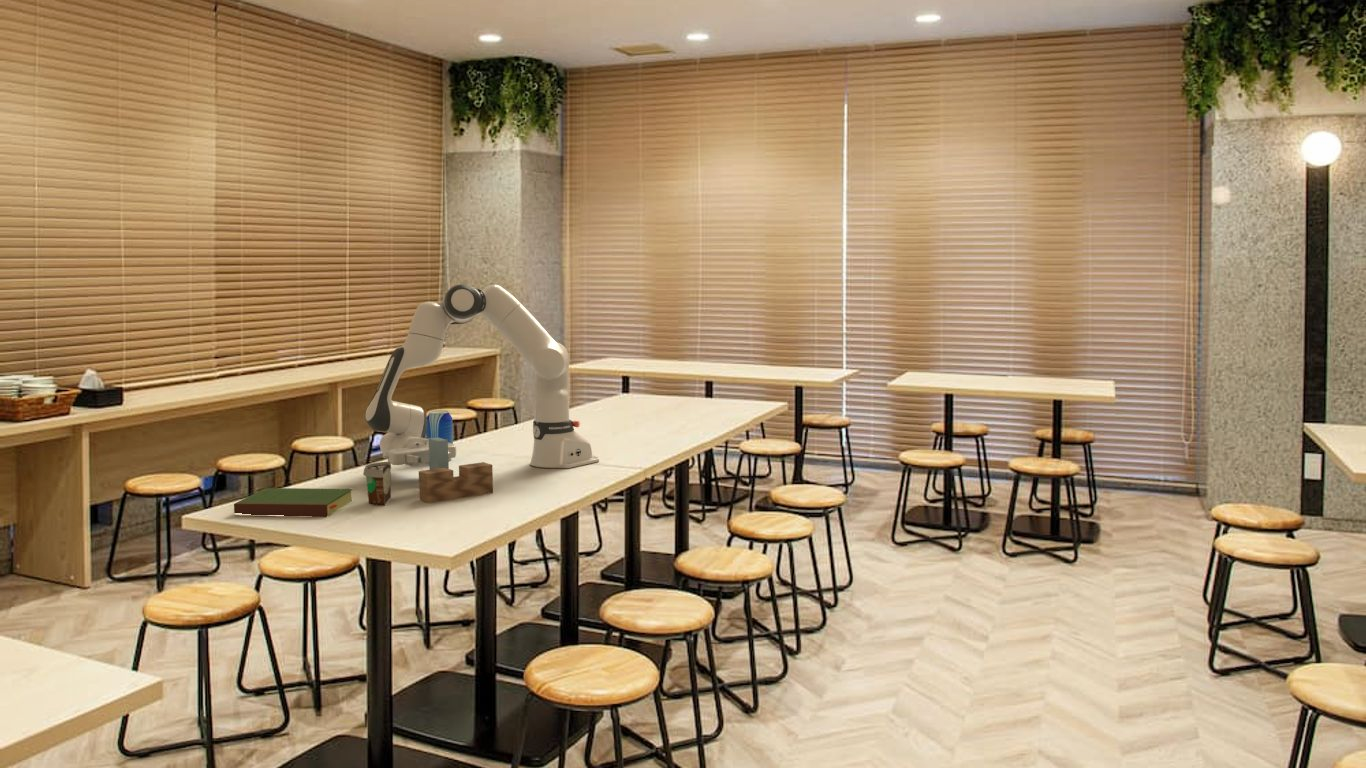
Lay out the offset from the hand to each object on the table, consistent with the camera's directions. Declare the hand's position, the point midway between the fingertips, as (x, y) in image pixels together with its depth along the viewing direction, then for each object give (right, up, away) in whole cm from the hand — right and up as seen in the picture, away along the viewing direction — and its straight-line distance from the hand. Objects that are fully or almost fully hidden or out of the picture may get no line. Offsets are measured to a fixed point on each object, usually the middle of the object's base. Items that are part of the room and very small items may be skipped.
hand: (434, 457), depth 313 cm
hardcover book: (-30, -12, -27) cm, 42 cm away
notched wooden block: (+9, -10, -13) cm, 19 cm away
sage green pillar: (+2, -8, -1) cm, 9 cm away
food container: (-11, -11, -20) cm, 25 cm away
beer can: (-7, -4, +40) cm, 41 cm away
